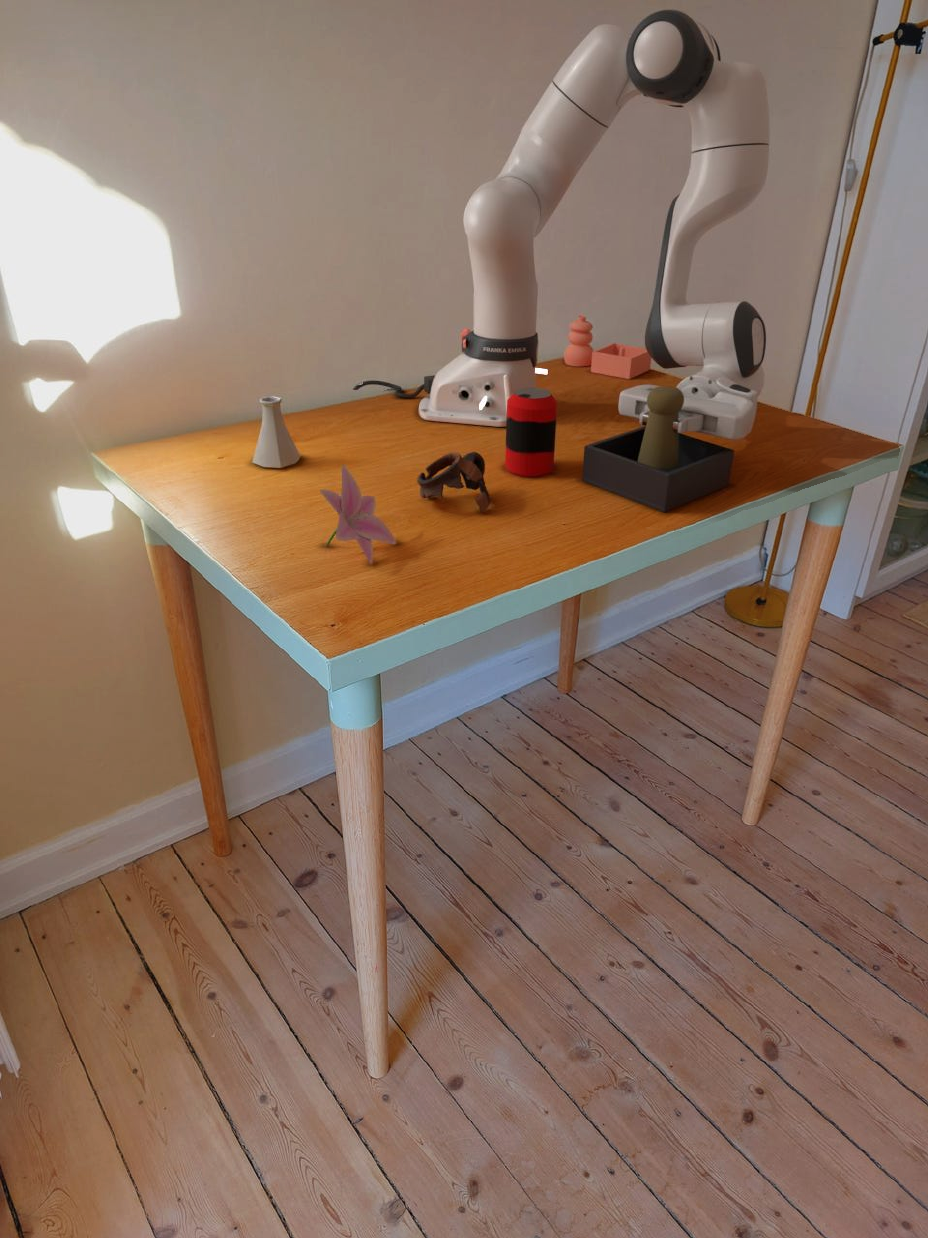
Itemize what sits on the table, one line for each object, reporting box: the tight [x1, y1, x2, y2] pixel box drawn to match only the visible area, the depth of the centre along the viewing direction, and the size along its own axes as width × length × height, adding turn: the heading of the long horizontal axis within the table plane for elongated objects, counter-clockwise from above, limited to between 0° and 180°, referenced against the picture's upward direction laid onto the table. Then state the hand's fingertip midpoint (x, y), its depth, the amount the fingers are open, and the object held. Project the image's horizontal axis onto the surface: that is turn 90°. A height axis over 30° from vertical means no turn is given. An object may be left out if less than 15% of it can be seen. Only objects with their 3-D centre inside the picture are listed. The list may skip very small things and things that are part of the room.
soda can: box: [504, 387, 558, 478], centre depth 138 cm, size 8×8×12 cm
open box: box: [581, 425, 735, 513], centre depth 135 cm, size 16×16×6 cm
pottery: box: [563, 315, 652, 380], centre depth 191 cm, size 18×10×10 cm, turn 53°
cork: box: [638, 386, 684, 469], centre depth 132 cm, size 6×6×11 cm
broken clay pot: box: [416, 451, 492, 514], centre depth 129 cm, size 12×10×8 cm
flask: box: [252, 395, 301, 469], centre depth 141 cm, size 7×7×10 cm
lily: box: [319, 464, 397, 565], centre depth 114 cm, size 12×12×10 cm
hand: (660, 423), depth 131 cm, fingers closed on cork, 4 cm apart
